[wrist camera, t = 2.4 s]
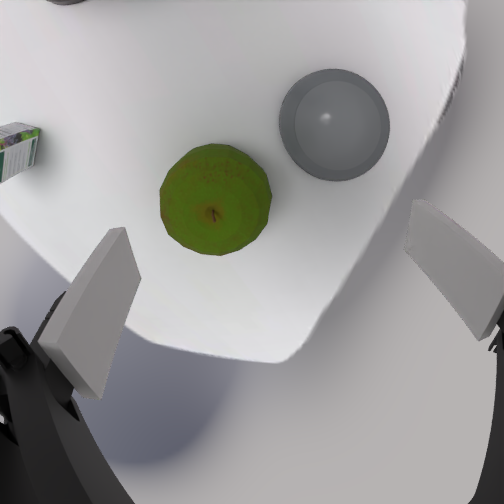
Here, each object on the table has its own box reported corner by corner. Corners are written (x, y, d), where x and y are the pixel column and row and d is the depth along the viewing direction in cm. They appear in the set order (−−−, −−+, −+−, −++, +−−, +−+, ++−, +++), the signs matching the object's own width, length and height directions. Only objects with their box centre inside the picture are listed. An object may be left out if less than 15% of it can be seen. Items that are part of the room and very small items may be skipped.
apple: (268, 142, 31) (286, 164, 22) (257, 224, 37) (268, 274, 27) (173, 136, 30) (148, 156, 20) (172, 220, 35) (153, 268, 26)
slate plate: (275, 175, 33) (277, 178, 32) (282, 62, 26) (285, 60, 25) (376, 182, 34) (381, 186, 33) (389, 82, 27) (395, 82, 26)
